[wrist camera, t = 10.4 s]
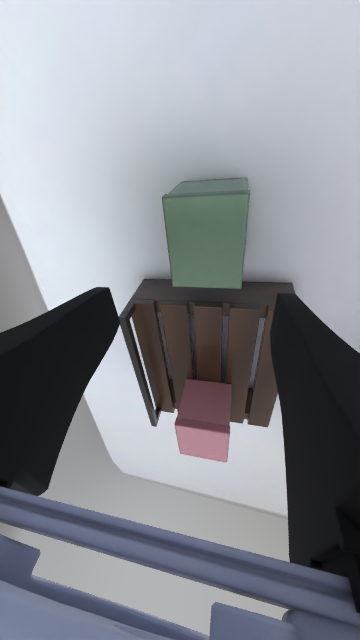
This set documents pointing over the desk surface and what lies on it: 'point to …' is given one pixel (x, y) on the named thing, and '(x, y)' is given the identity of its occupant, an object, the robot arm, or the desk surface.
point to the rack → (203, 343)
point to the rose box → (204, 420)
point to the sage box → (207, 232)
